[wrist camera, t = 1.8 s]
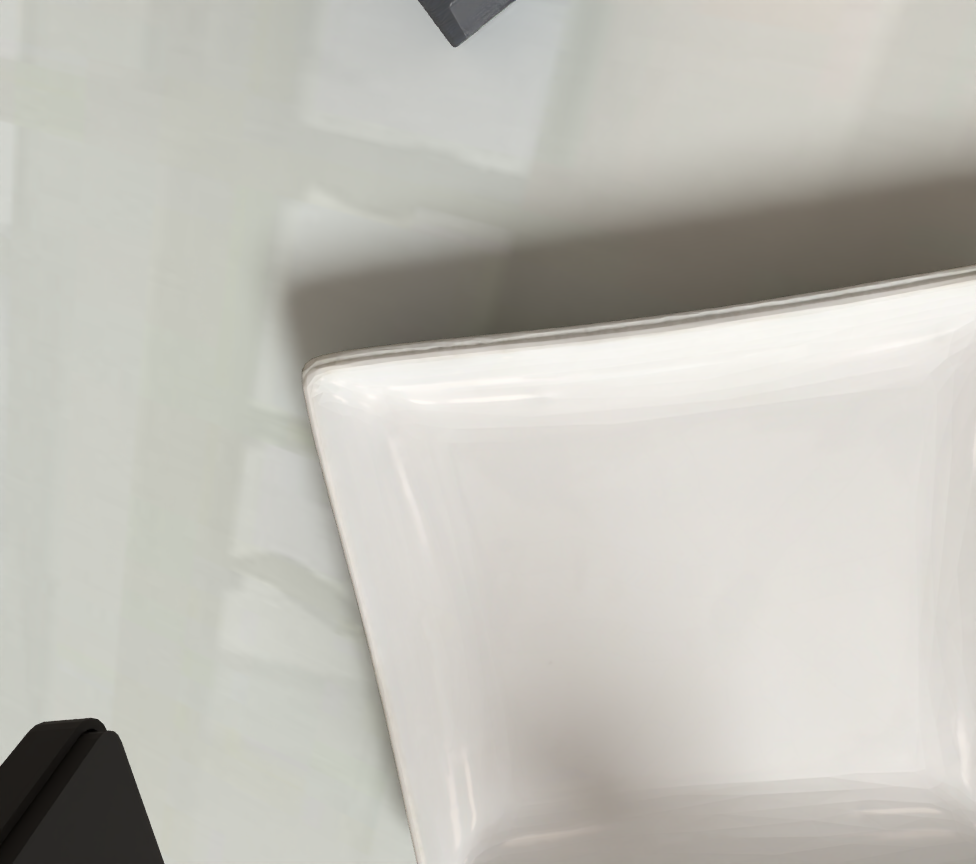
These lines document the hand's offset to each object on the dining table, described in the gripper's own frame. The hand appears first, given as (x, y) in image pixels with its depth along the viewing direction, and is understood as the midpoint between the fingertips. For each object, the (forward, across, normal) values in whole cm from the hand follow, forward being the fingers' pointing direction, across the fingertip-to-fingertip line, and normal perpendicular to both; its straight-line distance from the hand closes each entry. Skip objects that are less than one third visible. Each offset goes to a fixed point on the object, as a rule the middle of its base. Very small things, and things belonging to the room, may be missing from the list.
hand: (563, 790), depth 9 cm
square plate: (+24, -6, +13) cm, 28 cm away
